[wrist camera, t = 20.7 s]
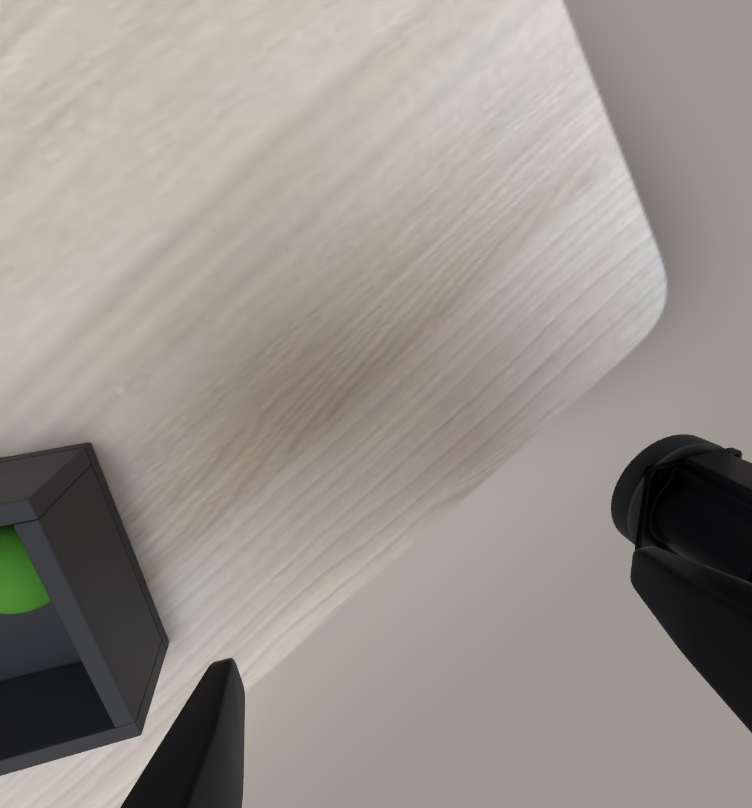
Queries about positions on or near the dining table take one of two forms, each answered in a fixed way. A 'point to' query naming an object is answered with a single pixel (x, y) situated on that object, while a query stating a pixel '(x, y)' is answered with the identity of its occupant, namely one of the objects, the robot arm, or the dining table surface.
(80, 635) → the tray
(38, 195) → the dining table surface
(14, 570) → the pea
